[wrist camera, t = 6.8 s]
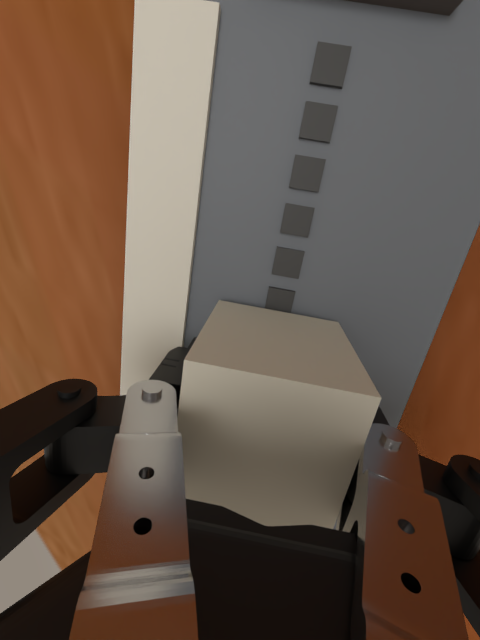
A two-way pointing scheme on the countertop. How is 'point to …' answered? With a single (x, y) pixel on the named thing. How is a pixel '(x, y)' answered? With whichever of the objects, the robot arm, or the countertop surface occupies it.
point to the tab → (273, 415)
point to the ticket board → (301, 172)
